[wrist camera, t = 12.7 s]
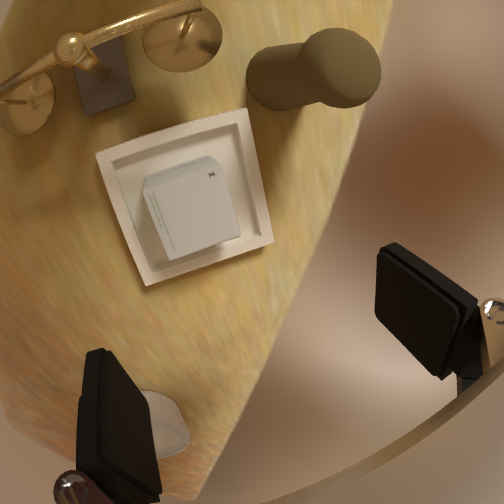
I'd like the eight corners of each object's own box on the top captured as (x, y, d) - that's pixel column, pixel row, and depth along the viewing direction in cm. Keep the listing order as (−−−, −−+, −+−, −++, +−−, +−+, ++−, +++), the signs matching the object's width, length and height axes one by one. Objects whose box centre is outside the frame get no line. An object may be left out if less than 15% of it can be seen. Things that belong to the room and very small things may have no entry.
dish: (98, 151, 21) (95, 154, 20) (240, 108, 24) (246, 107, 22) (145, 276, 27) (145, 286, 26) (267, 235, 29) (274, 242, 28)
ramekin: (148, 438, 38) (152, 467, 34) (86, 409, 32) (85, 441, 28) (201, 406, 38) (209, 437, 33) (137, 370, 32) (139, 406, 27)
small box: (142, 176, 23) (139, 190, 19) (210, 152, 24) (224, 161, 20) (165, 238, 26) (169, 264, 21) (228, 215, 27) (244, 237, 22)
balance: (7, 84, 16) (-79, 78, 6) (199, 14, 19) (241, -54, 8) (22, 147, 19) (-59, 182, 8) (214, 78, 22) (268, 51, 11)
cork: (304, 117, 26) (386, 129, 16) (239, 103, 23) (299, 99, 14) (316, 57, 23) (401, 42, 14) (253, 38, 21) (319, 0, 12)
